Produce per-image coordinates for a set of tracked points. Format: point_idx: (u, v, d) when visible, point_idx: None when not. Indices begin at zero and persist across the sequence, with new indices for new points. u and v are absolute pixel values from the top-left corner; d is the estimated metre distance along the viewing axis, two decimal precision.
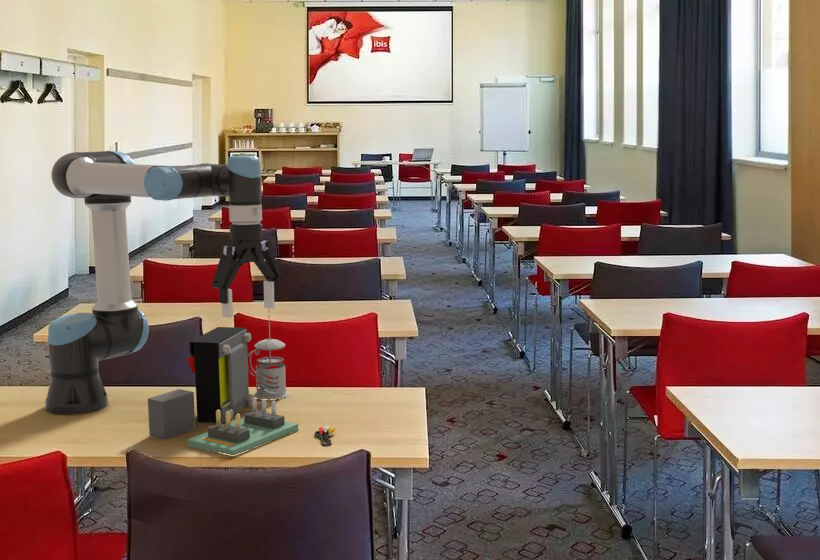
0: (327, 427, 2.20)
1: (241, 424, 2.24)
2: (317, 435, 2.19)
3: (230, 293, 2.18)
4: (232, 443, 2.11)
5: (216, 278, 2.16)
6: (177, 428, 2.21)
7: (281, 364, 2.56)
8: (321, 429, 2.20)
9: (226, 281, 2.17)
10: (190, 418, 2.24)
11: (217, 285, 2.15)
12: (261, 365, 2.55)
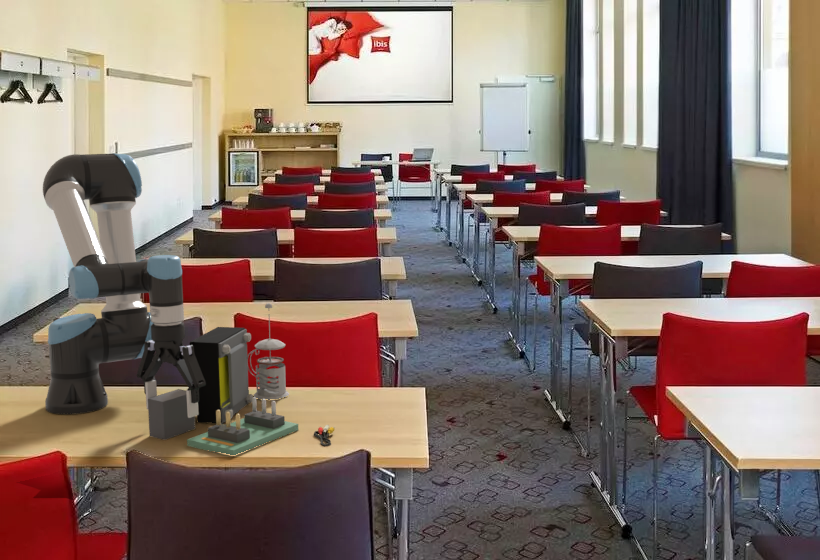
0: (326, 427, 2.20)
1: (241, 424, 2.24)
2: (316, 435, 2.19)
3: (146, 386, 2.24)
4: (232, 443, 2.11)
5: None
6: (177, 428, 2.21)
7: (281, 364, 2.56)
8: (320, 429, 2.20)
9: None
10: (190, 418, 2.24)
11: None
12: (261, 365, 2.55)
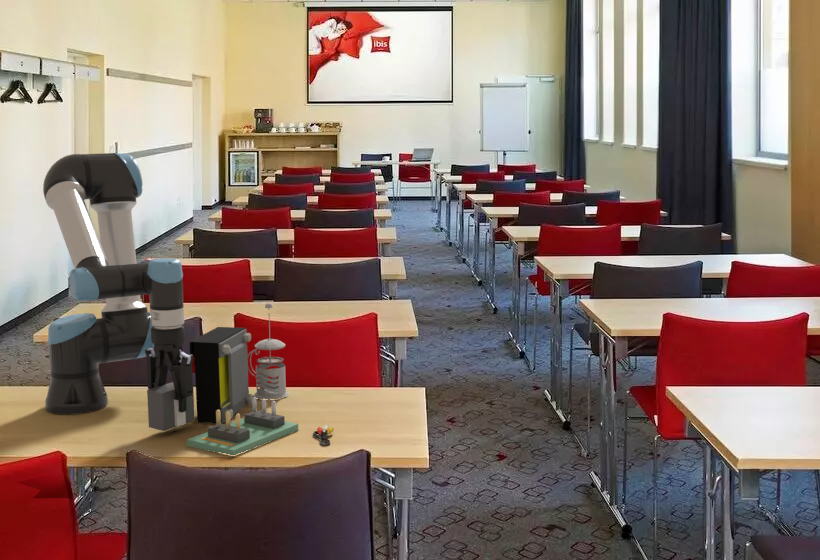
0: (326, 427, 2.20)
1: (241, 424, 2.24)
2: (316, 435, 2.19)
3: None
4: (232, 443, 2.11)
5: None
6: None
7: (281, 364, 2.56)
8: (320, 429, 2.20)
9: None
10: (189, 409, 2.24)
11: None
12: (261, 365, 2.55)
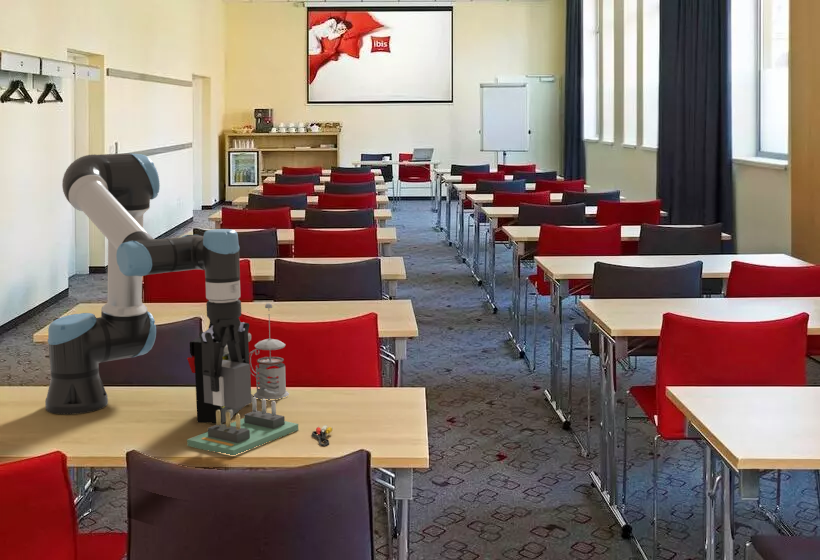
0: (324, 427, 2.20)
1: (241, 424, 2.24)
2: (314, 435, 2.19)
3: (222, 381, 2.09)
4: (232, 443, 2.11)
5: (205, 368, 2.07)
6: None
7: (281, 364, 2.56)
8: (318, 429, 2.20)
9: (215, 369, 2.08)
10: None
11: (209, 375, 2.07)
12: (261, 365, 2.55)
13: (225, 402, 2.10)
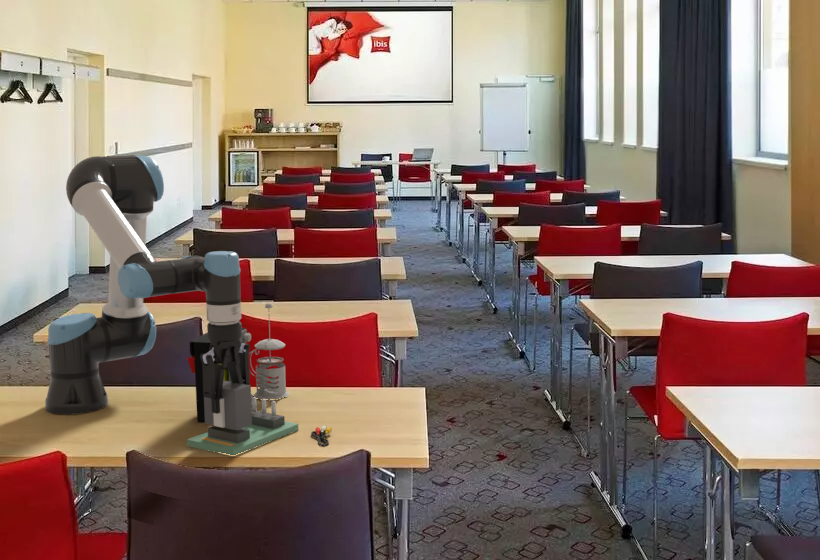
0: (324, 427, 2.20)
1: None
2: (314, 435, 2.19)
3: (222, 402, 2.10)
4: (232, 443, 2.11)
5: (205, 389, 2.08)
6: None
7: (281, 364, 2.56)
8: (318, 429, 2.20)
9: (216, 391, 2.09)
10: None
11: (209, 397, 2.08)
12: (261, 365, 2.55)
13: (226, 423, 2.11)
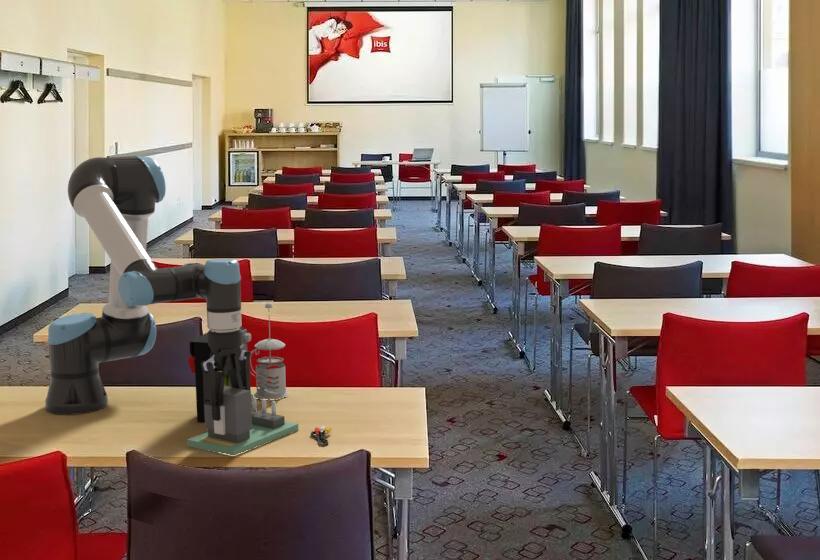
0: (323, 427, 2.20)
1: None
2: (313, 435, 2.19)
3: (223, 409, 2.10)
4: (232, 443, 2.11)
5: (206, 397, 2.08)
6: None
7: (281, 364, 2.56)
8: (317, 429, 2.20)
9: (217, 398, 2.09)
10: None
11: (210, 404, 2.08)
12: (261, 365, 2.55)
13: (226, 429, 2.11)
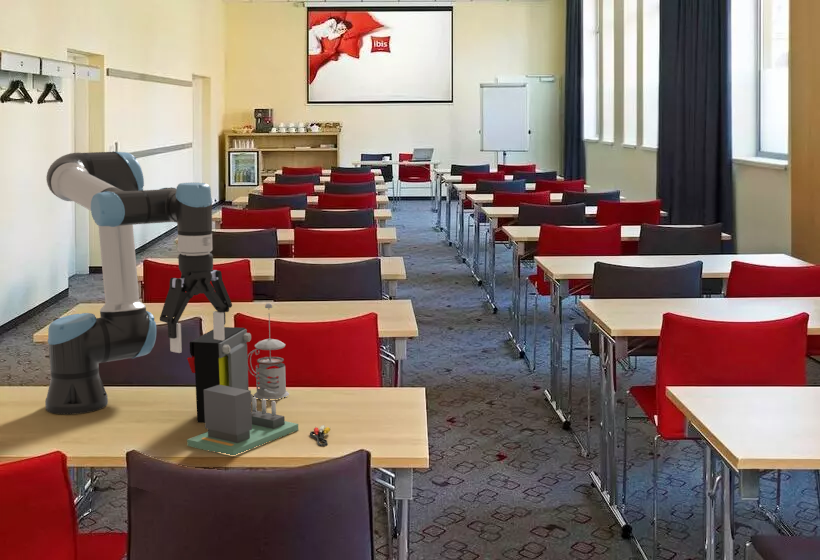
0: (322, 427, 2.20)
1: None
2: (312, 435, 2.19)
3: (179, 327, 2.08)
4: (232, 443, 2.11)
5: (164, 312, 2.06)
6: None
7: (281, 364, 2.56)
8: (316, 429, 2.20)
9: (175, 315, 2.07)
10: None
11: (165, 320, 2.05)
12: (261, 365, 2.55)
13: (226, 429, 2.11)
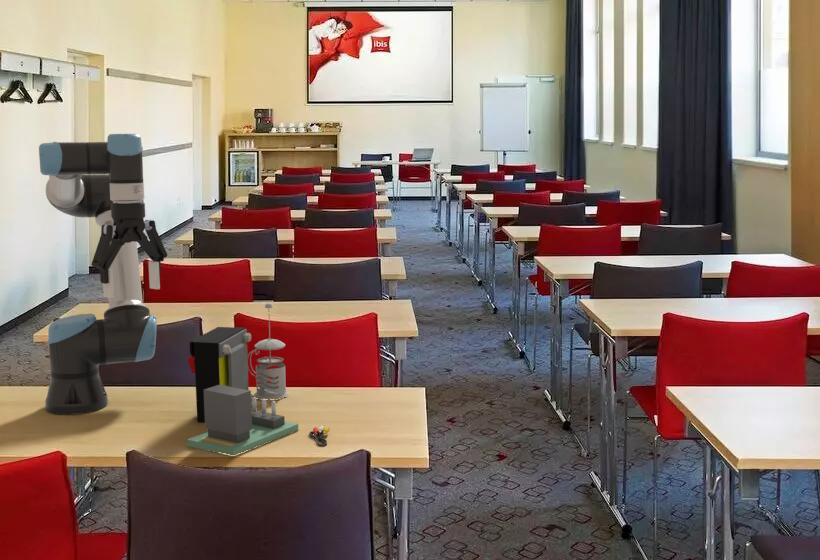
0: (321, 427, 2.20)
1: None
2: (312, 435, 2.19)
3: (111, 273, 2.14)
4: (232, 443, 2.11)
5: (95, 258, 2.12)
6: None
7: (281, 364, 2.56)
8: (315, 429, 2.20)
9: (106, 260, 2.13)
10: None
11: (97, 264, 2.11)
12: (261, 365, 2.55)
13: (226, 429, 2.11)
